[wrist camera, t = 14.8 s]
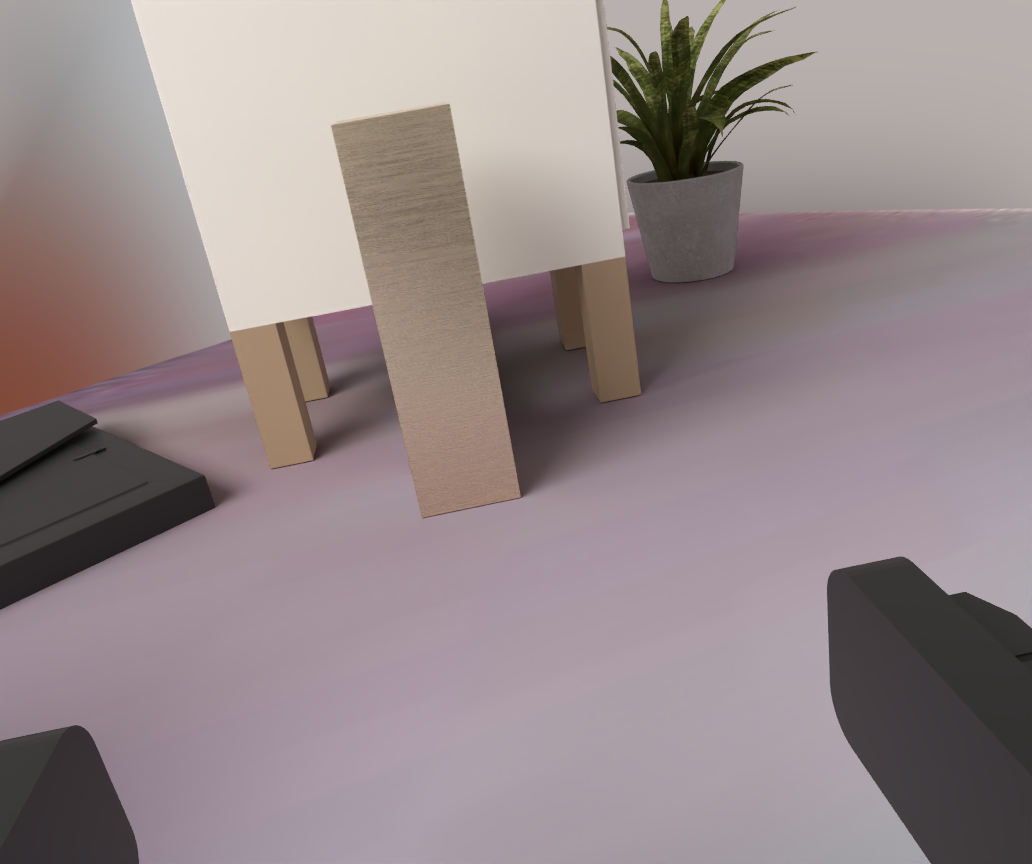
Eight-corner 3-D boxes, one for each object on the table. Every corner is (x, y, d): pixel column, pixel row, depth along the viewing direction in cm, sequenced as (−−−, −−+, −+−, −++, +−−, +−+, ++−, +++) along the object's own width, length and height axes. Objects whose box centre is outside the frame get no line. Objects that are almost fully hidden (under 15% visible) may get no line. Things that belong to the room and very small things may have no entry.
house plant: (670, 324, 46) (636, -17, 40) (531, 293, 58) (487, 24, 52) (852, 258, 52) (846, -46, 46) (694, 242, 64) (672, -4, 58)
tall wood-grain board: (473, 345, 49) (427, 98, 44) (520, 497, 30) (449, 103, 26) (412, 357, 49) (358, 111, 44) (421, 517, 30) (330, 125, 25)
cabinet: (612, 327, 47) (556, -118, 40) (672, 393, 37) (612, -192, 29) (286, 391, 46) (161, -52, 39) (254, 477, 36) (74, -105, 28)
